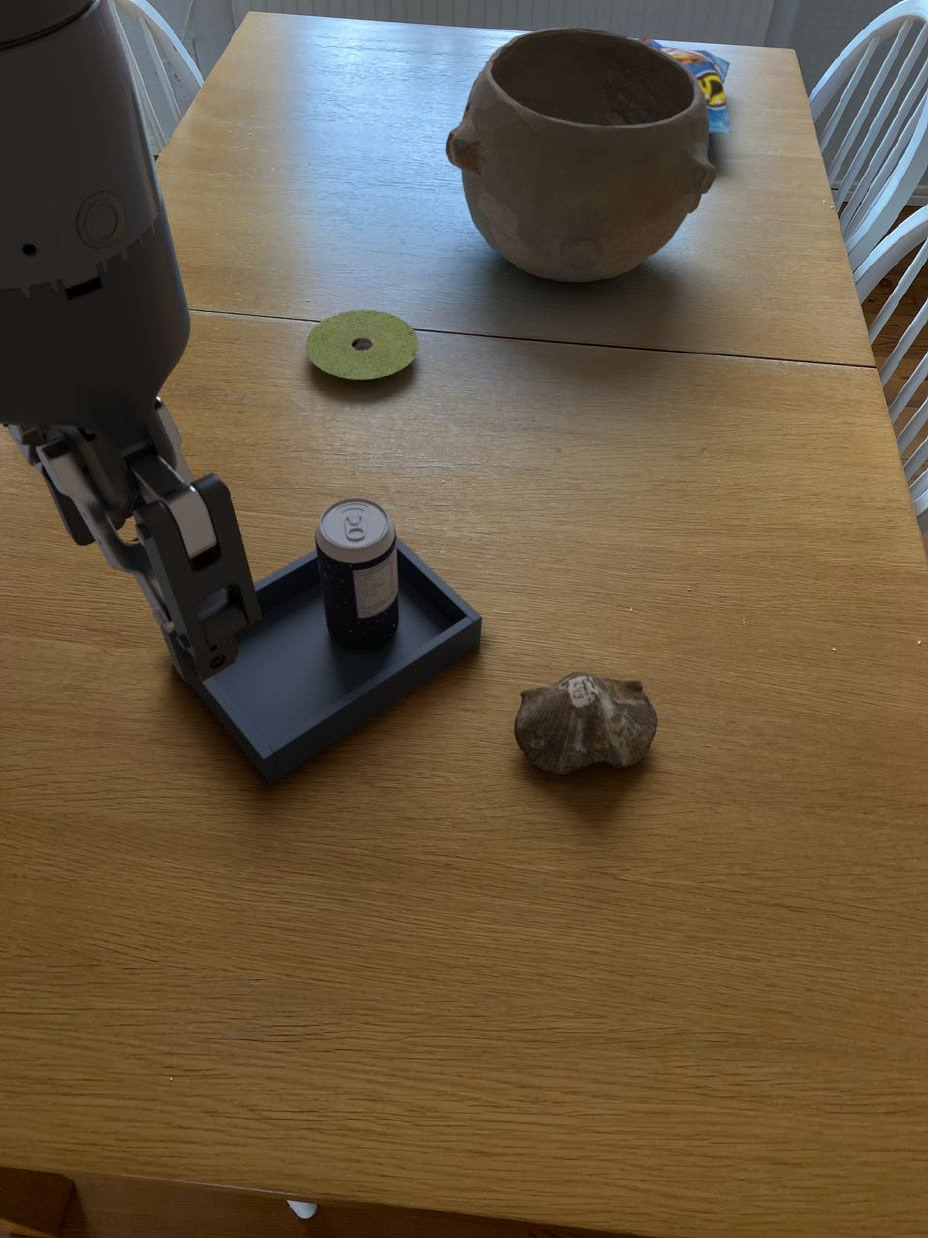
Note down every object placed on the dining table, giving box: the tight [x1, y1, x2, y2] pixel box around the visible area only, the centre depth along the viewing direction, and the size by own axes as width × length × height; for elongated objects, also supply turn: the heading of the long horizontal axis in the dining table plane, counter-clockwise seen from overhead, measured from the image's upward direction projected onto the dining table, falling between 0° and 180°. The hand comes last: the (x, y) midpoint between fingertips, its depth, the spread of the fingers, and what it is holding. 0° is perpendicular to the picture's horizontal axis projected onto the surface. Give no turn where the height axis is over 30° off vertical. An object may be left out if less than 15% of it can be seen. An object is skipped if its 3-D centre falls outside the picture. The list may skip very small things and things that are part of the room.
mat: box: [305, 309, 419, 381], centre depth 97 cm, size 11×11×2 cm
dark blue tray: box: [190, 535, 483, 785], centre depth 74 cm, size 20×14×4 cm
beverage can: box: [314, 497, 399, 649], centre depth 71 cm, size 6×6×12 cm
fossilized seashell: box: [513, 670, 658, 776], centre depth 69 cm, size 8×7×10 cm
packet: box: [635, 35, 731, 135], centre depth 128 cm, size 17×24×8 cm
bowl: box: [445, 26, 717, 283], centre depth 103 cm, size 27×29×20 cm
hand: (152, 596), depth 37 cm, fingers open, 8 cm apart
